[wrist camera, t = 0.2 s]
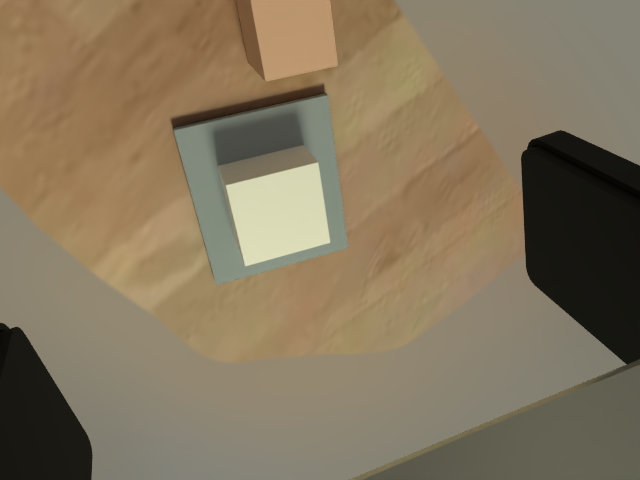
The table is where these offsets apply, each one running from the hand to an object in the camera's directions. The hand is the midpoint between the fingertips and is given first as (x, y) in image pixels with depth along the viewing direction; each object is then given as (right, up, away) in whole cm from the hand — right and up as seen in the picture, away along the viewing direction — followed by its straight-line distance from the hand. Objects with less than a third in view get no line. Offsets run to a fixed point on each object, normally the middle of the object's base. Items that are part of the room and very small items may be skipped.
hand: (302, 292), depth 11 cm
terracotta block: (-3, +17, +32) cm, 37 cm away
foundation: (-4, +5, +38) cm, 39 cm away
